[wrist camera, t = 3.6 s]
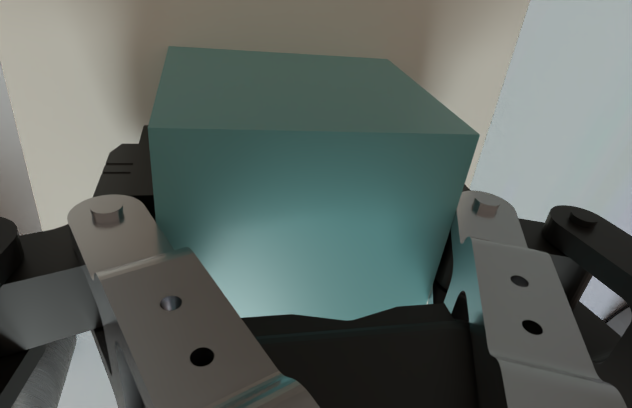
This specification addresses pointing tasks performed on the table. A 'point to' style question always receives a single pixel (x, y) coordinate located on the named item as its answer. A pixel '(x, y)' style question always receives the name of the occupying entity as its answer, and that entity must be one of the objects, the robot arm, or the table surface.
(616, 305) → the table surface
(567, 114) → the table surface
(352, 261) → the frosted teal cube
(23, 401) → the peg
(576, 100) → the table surface
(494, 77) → the board
